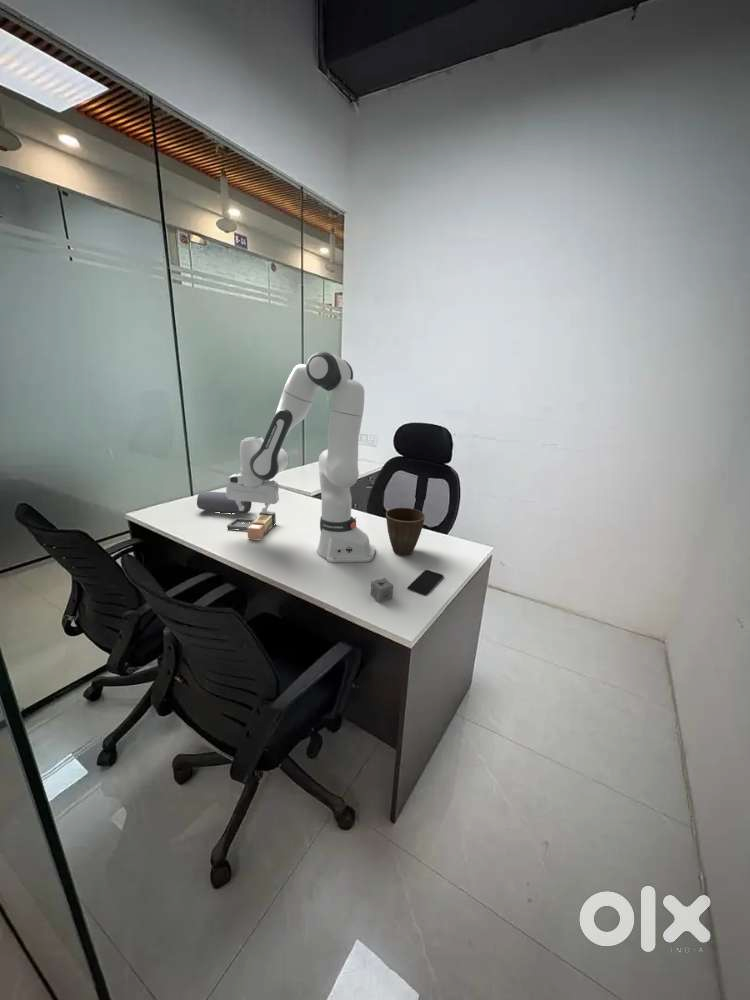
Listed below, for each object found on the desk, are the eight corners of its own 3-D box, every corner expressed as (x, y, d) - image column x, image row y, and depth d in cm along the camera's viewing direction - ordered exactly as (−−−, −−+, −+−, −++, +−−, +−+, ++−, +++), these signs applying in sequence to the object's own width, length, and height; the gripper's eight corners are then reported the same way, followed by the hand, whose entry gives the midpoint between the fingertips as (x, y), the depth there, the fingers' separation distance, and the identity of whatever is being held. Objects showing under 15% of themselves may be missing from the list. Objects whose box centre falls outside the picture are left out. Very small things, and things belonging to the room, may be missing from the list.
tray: (256, 523, 163) (255, 519, 163) (248, 531, 155) (247, 527, 154) (236, 521, 164) (236, 518, 163) (227, 529, 155) (227, 525, 155)
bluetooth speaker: (252, 511, 177) (251, 491, 174) (244, 518, 168) (243, 498, 165) (207, 507, 178) (205, 488, 175) (197, 514, 170) (194, 493, 166)
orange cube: (263, 536, 151) (263, 525, 150) (260, 540, 147) (259, 528, 146) (251, 535, 151) (251, 524, 150) (247, 539, 148) (247, 527, 146)
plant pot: (389, 562, 136) (393, 522, 131) (378, 544, 149) (381, 508, 144) (427, 559, 140) (431, 520, 135) (413, 542, 153) (416, 506, 148)
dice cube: (370, 595, 115) (371, 581, 113) (383, 591, 117) (384, 577, 116) (378, 603, 111) (379, 589, 109) (392, 599, 113) (393, 585, 112)
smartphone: (406, 588, 119) (425, 568, 131) (405, 591, 119) (425, 571, 131) (426, 596, 115) (444, 575, 127) (426, 599, 116) (444, 578, 128)
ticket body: (275, 523, 164) (275, 511, 162) (266, 534, 152) (265, 521, 151) (261, 522, 164) (261, 510, 162) (251, 533, 153) (250, 520, 151)
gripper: (281, 478, 144) (281, 511, 148) (230, 473, 145) (232, 506, 149) (275, 483, 138) (275, 517, 142) (223, 477, 139) (224, 511, 143)
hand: (253, 511), depth 146 cm, fingers open, 8 cm apart
